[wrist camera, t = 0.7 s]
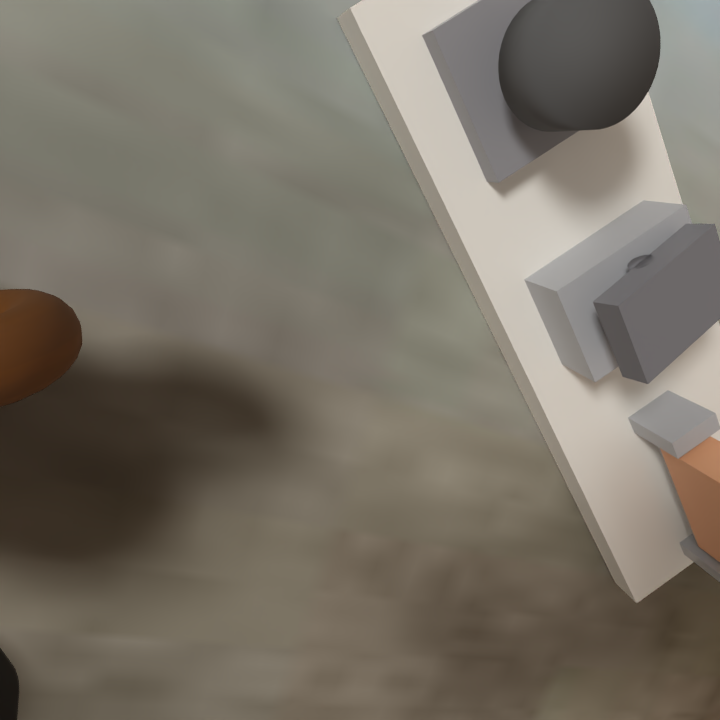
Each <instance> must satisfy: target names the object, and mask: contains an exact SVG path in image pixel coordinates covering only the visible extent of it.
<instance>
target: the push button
mask: <svg viewBox="0 0 720 720" xmlns="http://www.w3.org/2000/svg"><path fill="white" fill-rule="evenodd" d="M659 57H660V30H659V25H658V20H657V17H656V14H655V11H654V8H653V6H652V4H651V2H650V0H531V1H530V2H528V3H527V4H526V5H525V6H524V7H523V8H521V9H520V10H519V12H518V13H517V14H516V15H515V17H514V18H513V19H512V21H511V23H510V24H509V26H508V28H507V30H506V32H505V35H504V37H503V40H502V43H501V48H500V52H499V61H498V73H499V82H500V86H501V90H502V93H503V96H504V99H505V101H506V103H507V105H508V106H509V108H510V109H511V111H512V112H513V113H514V115H515V116H516V117H517V118H518V119H519V120H520V121H521V122H523V123H524V124H526V125H527V126H529V127H531V128H533V129H536V130H540V131H546V132H558V131H580V130H599V129H604V128H608V127H610V126H613V125H615V124H617V123H619V122H621V121H622V120H624V119H625V118H626V117H628V116H629V115H630V114H631V113H632V112H633V111H634V110H635V109H636V108H637V107H638V106H639V105H640V103H641V102H642V101H643V99H644V98H645V96H646V95H647V93H648V91H649V89H650V87H651V85H652V83H653V80H654V78H655V74H656V71H657V68H658V63H659Z"/></svg>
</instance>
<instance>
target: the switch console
mask: <svg viewBox="0 0 720 720" xmlns="http://www.w3.org/2000/svg"><path fill="white" fill-rule="evenodd" d="M530 1H531V0H362V1H361V2H359V3H357V4H356V5H354V6H352V7H351V8H349V9H348V10H347V11H345V12H344V13H343V14H341V15H340V16H339V17H338V18H337V20H338V22H339V24H340V26H341V28H342V30H343V32H344V34H345V36H346V38H347V40H348V42H349V44H350V46H351V48H352V50H353V52H354V54H355V56H356V58H357V60H358V62H359V64H360V66H361V68H362V70H363V72H364V74H365V76H366V78H367V81H368V83H369V85H370V87H371V89H372V91H373V93H374V95H375V97H376V99H377V101H378V103H379V105H380V107H381V109H382V111H383V113H384V115H385V117H386V119H387V121H388V123H389V125H390V127H391V129H392V131H393V133H394V135H395V137H396V139H397V141H398V143H399V145H400V147H401V149H402V151H403V154H404V156H405V158H406V160H407V162H408V164H409V166H410V168H411V170H412V172H413V174H414V176H415V178H416V180H417V182H418V184H419V186H420V188H421V190H422V192H423V194H424V196H425V198H426V200H427V202H428V204H429V206H430V208H431V210H432V212H433V214H434V216H435V218H436V220H437V222H438V225H439V227H440V229H441V231H442V233H443V235H444V237H445V239H446V241H447V243H448V245H449V247H450V249H451V251H452V253H453V255H454V257H455V259H456V261H457V263H458V265H459V267H460V269H461V271H462V273H463V275H464V277H465V279H466V281H467V283H468V285H469V287H470V289H471V291H472V293H473V295H474V298H475V300H476V302H477V304H478V306H479V308H480V310H481V312H482V314H483V316H484V318H485V320H486V322H487V324H488V326H489V328H490V330H491V332H492V334H493V336H494V338H495V340H496V342H497V344H498V346H499V348H500V350H501V352H502V354H503V356H504V358H505V360H506V362H507V364H508V366H509V369H510V371H511V373H512V375H513V377H514V379H515V381H516V383H517V385H518V387H519V389H520V391H521V393H522V395H523V397H524V399H525V401H526V403H527V405H528V407H529V409H530V411H531V413H532V415H533V417H534V419H535V421H536V423H537V425H538V427H539V429H540V431H541V433H542V435H543V437H544V439H545V442H546V444H547V446H548V448H549V450H550V452H551V454H552V456H553V458H554V460H555V462H556V464H557V466H558V468H559V470H560V472H561V474H562V476H563V478H564V480H565V482H566V484H567V486H568V488H569V490H570V492H571V494H572V496H573V498H574V500H575V502H576V504H577V506H578V508H579V510H580V512H581V515H582V517H583V519H584V521H585V523H586V525H587V527H588V529H589V531H590V533H591V535H592V537H593V539H594V541H595V543H596V545H597V547H598V549H599V551H600V553H601V555H602V557H603V559H604V561H605V563H606V565H607V567H608V569H609V571H610V573H611V575H612V577H613V579H614V581H615V583H616V584H617V585H618V586H619V587H620V588H621V589H622V590H623V591H624V592H625V593H626V594H627V595H628V596H629V597H630V598H631V599H632V600H633V601H635V602H636V603H638V602H639V601H641V600H642V599H643V598H645V597H646V596H648V595H649V594H650V593H652V592H653V591H655V590H656V589H657V588H659V587H660V586H661V585H663V584H664V583H666V582H667V581H668V580H670V579H671V578H673V577H674V576H675V575H677V574H678V573H679V572H681V571H682V570H684V569H685V568H686V567H688V566H689V565H691V564H692V563H693V562H694V563H696V564H697V565H698V566H700V567H701V568H702V569H703V570H705V571H706V572H707V573H709V574H710V575H711V576H712V577H714V578H715V579H716V580H717V581H719V582H720V562H719V561H717V560H716V559H715V558H713V557H712V556H711V555H709V554H708V553H707V552H705V551H704V550H702V549H701V548H700V547H699V546H698V544H697V543H696V541H695V539H694V536H693V534H692V531H691V528H690V526H689V523H688V521H687V518H686V516H685V513H684V511H683V508H682V506H681V503H680V501H679V498H678V495H677V493H676V490H675V488H674V485H673V483H672V480H671V478H670V475H669V473H668V470H667V467H666V465H665V462H664V460H663V457H662V455H661V452H660V450H659V448H661V449H662V450H664V451H666V452H667V453H669V454H671V455H672V456H674V457H676V458H677V459H679V458H680V457H682V456H683V455H684V454H686V453H687V452H689V451H690V450H691V449H693V448H694V447H696V446H697V445H699V444H700V443H701V442H703V441H704V440H706V439H707V438H708V437H710V436H711V437H713V438H714V439H716V440H718V441H720V325H719V322H718V321H717V322H716V323H715V324H714V325H713V326H712V327H711V328H709V329H708V330H707V331H706V332H705V333H704V334H703V335H702V336H701V337H700V338H698V339H697V340H696V341H695V342H694V343H693V344H692V345H691V346H690V347H689V348H687V349H686V350H685V351H684V352H683V353H682V354H681V355H680V356H679V357H677V358H676V359H675V360H674V361H673V362H672V363H671V364H670V365H669V366H668V367H666V368H665V369H664V370H663V371H662V372H661V373H660V374H659V375H658V376H657V377H655V378H654V379H653V380H652V381H651V382H650V383H649V384H646V383H642V382H639V381H635V380H632V379H628V378H625V377H623V376H622V374H621V371H620V369H619V366H618V364H617V361H616V359H615V356H614V354H613V351H612V349H611V346H610V344H609V341H608V339H607V336H606V334H605V332H604V329H603V327H602V324H601V322H600V319H599V317H598V314H597V312H596V309H595V307H594V304H593V301H594V300H595V299H597V298H598V297H599V296H600V295H601V294H603V293H604V292H605V291H606V290H607V289H609V288H610V287H611V286H612V285H613V284H615V283H616V282H617V281H618V280H619V279H621V278H622V277H623V276H624V275H625V274H627V273H628V272H629V269H628V267H627V265H628V263H629V262H630V261H631V260H632V259H634V258H636V257H638V256H642V255H649V254H650V253H652V252H653V251H654V250H655V249H656V248H658V247H659V246H660V245H661V244H662V243H664V242H665V241H666V240H667V239H668V238H670V237H671V236H672V235H673V234H674V233H676V232H677V231H678V230H679V229H680V228H682V227H683V226H684V225H685V224H692V223H691V219H690V216H689V213H688V209H687V206H686V205H683V204H682V201H681V197H680V194H679V191H678V187H677V184H676V181H675V178H674V174H673V171H672V168H671V165H670V161H669V158H668V155H667V151H666V148H665V145H664V142H663V138H662V135H661V132H660V128H659V125H658V122H657V119H656V115H655V112H654V109H653V105H652V102H651V99H650V96H649V92H648V93H647V95H646V96H645V98H644V99H643V101H642V102H641V103H640V105H639V106H638V107H637V108H636V109H635V110H634V111H633V112H632V113H631V114H630V115H629V116H628V117H626V118H625V119H624V120H622V121H621V122H619V123H617V124H615V125H613V126H610V127H608V128H604V129H599V130H580V131H558V132H546V131H540V130H536V129H533V128H531V127H529V126H527V125H526V124H524V123H523V122H521V121H520V120H519V119H518V118H517V117H516V116H515V115H514V113H513V112H512V111H511V109H510V108H509V106H508V105H507V103H506V101H505V99H504V96H503V93H502V90H501V86H500V82H499V73H498V61H499V52H500V48H501V43H502V40H503V37H504V35H505V32H506V30H507V28H508V26H509V24H510V23H511V21H512V19H513V18H514V17H515V15H516V14H517V13H518V12H519V10H520V9H521V8H523V7H524V6H525V5H526V4H527V3H528V2H530Z"/></svg>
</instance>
